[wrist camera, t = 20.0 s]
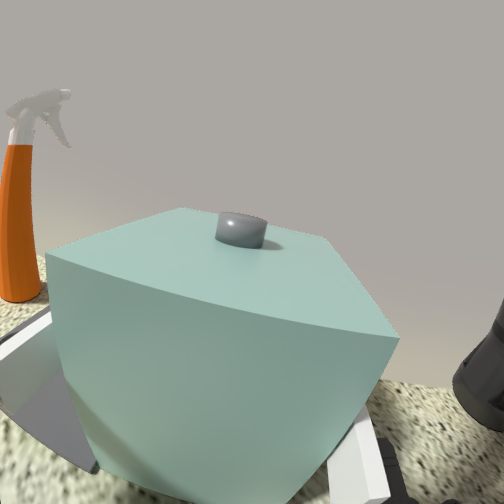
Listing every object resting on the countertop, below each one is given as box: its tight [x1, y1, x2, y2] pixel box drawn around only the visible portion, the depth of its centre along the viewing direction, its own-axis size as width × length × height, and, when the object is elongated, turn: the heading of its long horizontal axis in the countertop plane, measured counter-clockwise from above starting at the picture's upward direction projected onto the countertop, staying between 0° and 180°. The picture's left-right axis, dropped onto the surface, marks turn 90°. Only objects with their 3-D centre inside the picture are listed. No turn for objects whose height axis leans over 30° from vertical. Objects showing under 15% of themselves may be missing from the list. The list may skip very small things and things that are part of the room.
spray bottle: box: [0, 89, 71, 302], centre depth 24 cm, size 7×11×26 cm, turn 139°
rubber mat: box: [0, 305, 98, 474], centre depth 18 cm, size 16×16×1 cm
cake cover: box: [45, 207, 400, 504], centre depth 15 cm, size 11×14×16 cm
